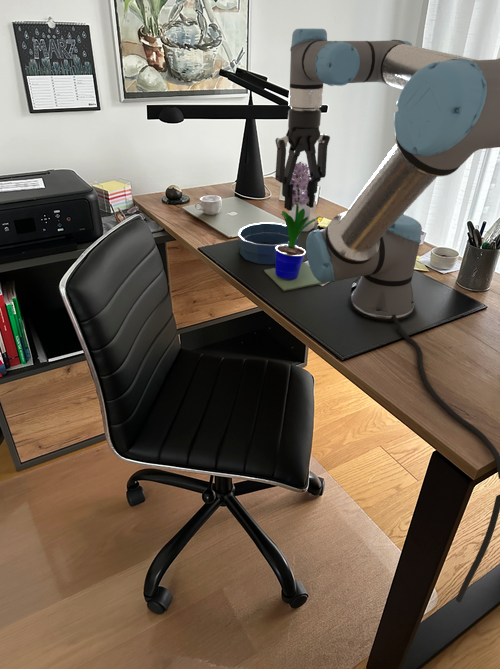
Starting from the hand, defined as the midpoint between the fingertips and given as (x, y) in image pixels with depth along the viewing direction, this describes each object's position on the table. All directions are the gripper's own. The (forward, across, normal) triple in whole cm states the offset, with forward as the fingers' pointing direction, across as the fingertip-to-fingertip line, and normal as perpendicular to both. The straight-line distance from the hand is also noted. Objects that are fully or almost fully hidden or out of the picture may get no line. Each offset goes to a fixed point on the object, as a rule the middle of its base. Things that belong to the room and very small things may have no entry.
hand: (298, 207), depth 121 cm
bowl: (+20, 0, -18) cm, 27 cm away
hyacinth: (+19, +2, 0) cm, 19 cm away
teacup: (+20, +6, -59) cm, 62 cm away
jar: (+20, -20, -33) cm, 43 cm away
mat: (+20, 0, 0) cm, 20 cm away
